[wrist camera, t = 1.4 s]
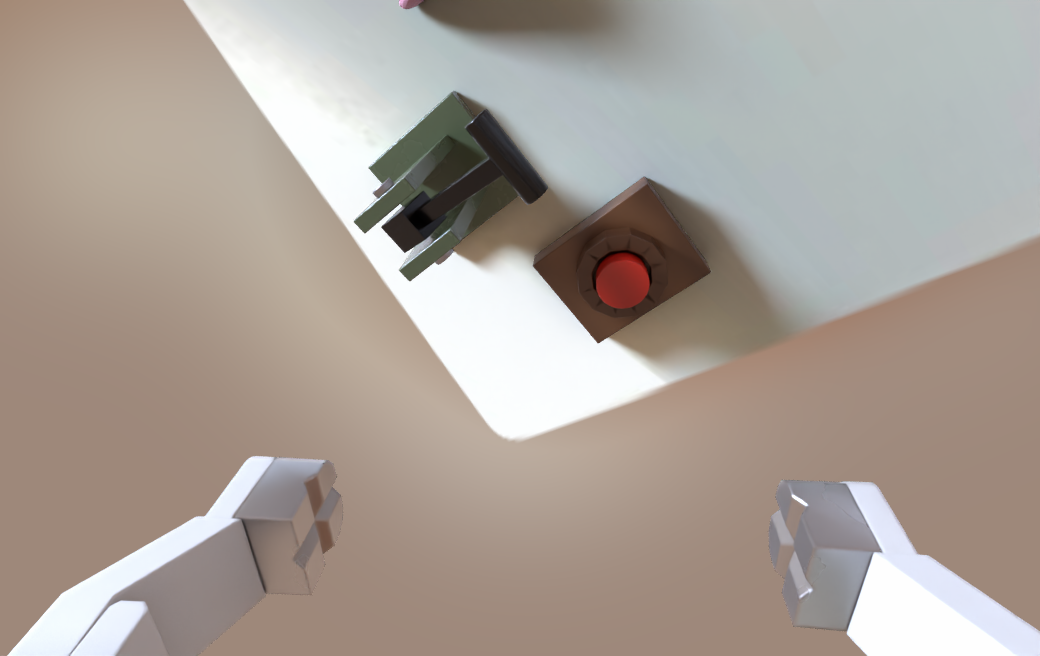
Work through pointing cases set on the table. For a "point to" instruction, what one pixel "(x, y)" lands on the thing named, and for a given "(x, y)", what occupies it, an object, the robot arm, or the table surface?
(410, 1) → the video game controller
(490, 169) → the lever
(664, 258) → the button block
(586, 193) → the table surface
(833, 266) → the table surface
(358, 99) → the table surface
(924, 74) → the table surface
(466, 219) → the bracket
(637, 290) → the button
